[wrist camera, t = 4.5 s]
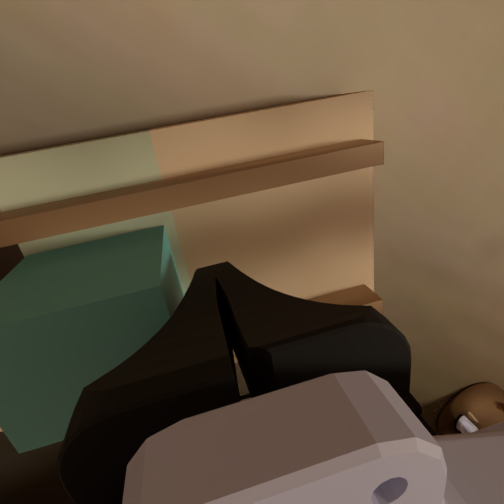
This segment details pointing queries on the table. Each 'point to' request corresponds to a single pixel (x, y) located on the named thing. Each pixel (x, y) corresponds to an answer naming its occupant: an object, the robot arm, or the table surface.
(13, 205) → the channel board
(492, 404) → the beer glass
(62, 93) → the table surface
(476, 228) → the table surface
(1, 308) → the teal block
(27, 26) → the table surface
